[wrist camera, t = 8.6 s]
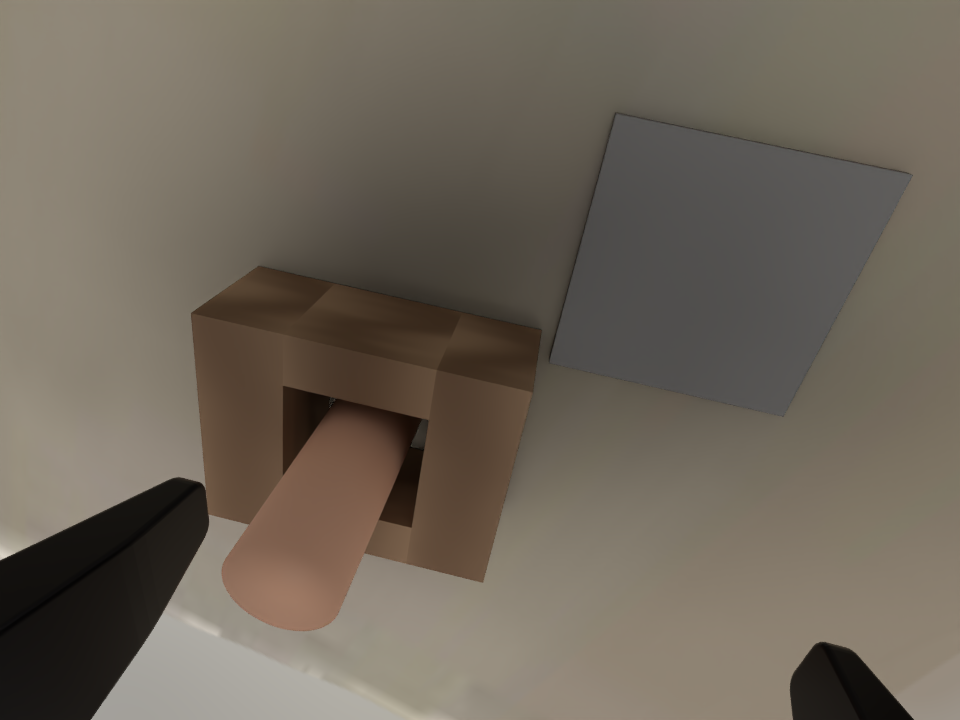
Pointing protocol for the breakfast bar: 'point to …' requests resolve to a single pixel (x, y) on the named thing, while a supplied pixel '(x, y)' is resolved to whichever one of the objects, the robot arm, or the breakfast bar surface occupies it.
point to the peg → (319, 518)
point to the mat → (717, 262)
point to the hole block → (369, 381)
